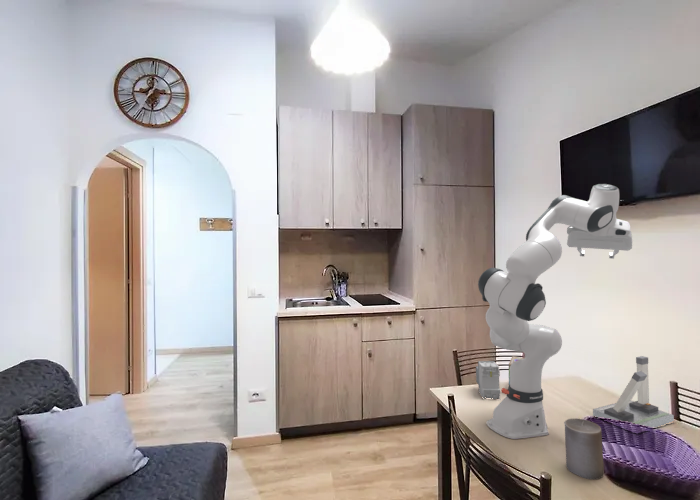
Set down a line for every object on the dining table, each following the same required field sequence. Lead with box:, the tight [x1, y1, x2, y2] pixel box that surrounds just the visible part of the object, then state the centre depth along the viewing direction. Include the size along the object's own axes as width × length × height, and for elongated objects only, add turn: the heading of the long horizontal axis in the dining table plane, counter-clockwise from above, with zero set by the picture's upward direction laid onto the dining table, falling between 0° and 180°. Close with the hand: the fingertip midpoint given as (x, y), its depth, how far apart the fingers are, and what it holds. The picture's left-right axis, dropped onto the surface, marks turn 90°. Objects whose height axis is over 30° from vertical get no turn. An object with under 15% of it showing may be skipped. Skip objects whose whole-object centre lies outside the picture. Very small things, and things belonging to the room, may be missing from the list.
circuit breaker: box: [475, 360, 501, 400], centre depth 172 cm, size 8×14×15 cm, turn 174°
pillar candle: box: [563, 418, 605, 480], centre depth 112 cm, size 10×10×15 cm
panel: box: [592, 400, 675, 427], centre depth 143 cm, size 22×16×5 cm
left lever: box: [613, 371, 647, 412], centre depth 136 cm, size 4×2×18 cm, turn 111°
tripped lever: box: [635, 355, 650, 404], centre depth 146 cm, size 4×2×18 cm, turn 111°
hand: (596, 256), depth 140 cm, fingers open, 8 cm apart
